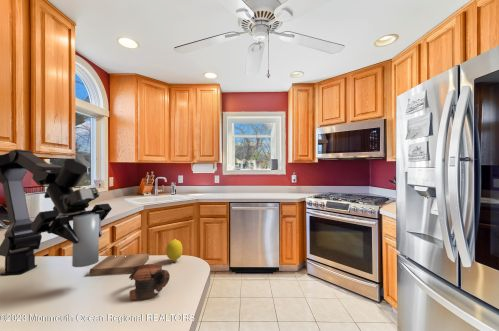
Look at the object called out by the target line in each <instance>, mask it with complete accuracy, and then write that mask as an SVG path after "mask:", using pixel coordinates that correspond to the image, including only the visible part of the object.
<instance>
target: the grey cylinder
mask: <svg viewBox="0 0 499 331" xmlns="http://www.w3.org/2000/svg"><path fill="white" fill-rule="evenodd" d="M72 229H73V231H74V232H75V234H76V236H77V238H78V240H79V241H78V243H77V244H75V243H73V242H72V252H71V253H72V254H71V255H72V256H71V259H72V260H71V264H72V267H73V268H83V267H84V268H85V267H90V266H92V265H96V264H98V263H99V262H100V261H99V260H100V259H99V256H100V255H99V254H100V252H99V250H100V238H99V214H86V215H78V216H74V217H73V221H72Z"/></svg>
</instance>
